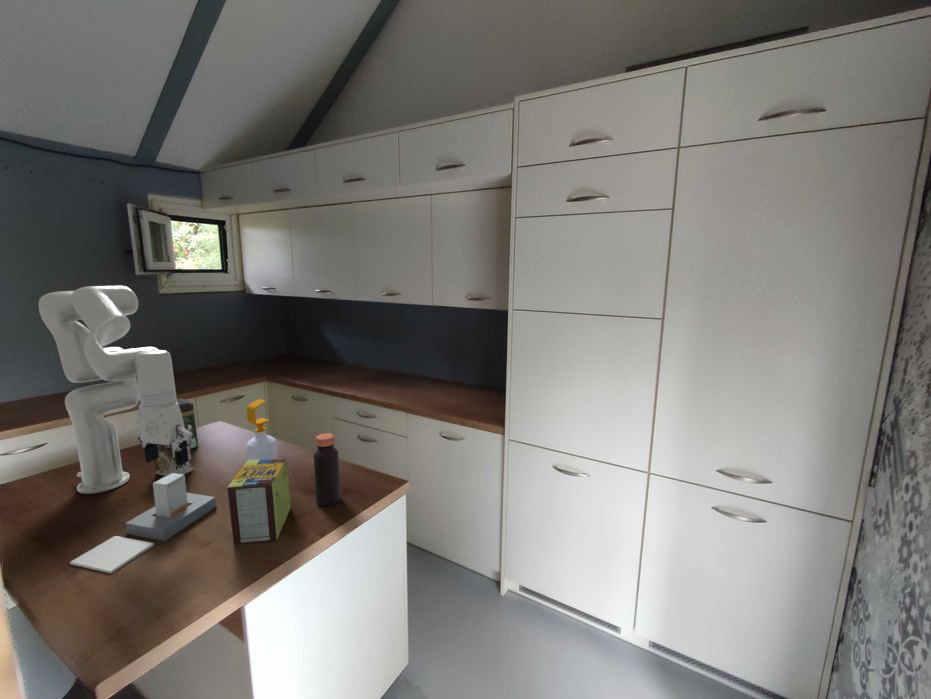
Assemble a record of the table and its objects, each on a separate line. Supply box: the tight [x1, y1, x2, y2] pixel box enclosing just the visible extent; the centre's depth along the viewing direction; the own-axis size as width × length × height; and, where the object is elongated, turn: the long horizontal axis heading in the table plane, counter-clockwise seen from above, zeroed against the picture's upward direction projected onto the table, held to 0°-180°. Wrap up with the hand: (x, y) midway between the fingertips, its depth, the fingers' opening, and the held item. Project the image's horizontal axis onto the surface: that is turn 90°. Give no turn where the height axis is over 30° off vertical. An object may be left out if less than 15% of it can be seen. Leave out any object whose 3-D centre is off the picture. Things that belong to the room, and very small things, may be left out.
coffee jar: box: [177, 398, 199, 450], centre depth 158 cm, size 10×8×19 cm
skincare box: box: [152, 473, 188, 519], centre depth 112 cm, size 6×4×12 cm
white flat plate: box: [69, 535, 155, 574], centre depth 99 cm, size 12×10×1 cm
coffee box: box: [154, 424, 194, 477], centre depth 139 cm, size 9×6×16 cm
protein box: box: [227, 457, 292, 545], centre depth 110 cm, size 10×15×16 cm
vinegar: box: [313, 432, 341, 507], centre depth 122 cm, size 7×7×20 cm
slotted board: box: [124, 492, 217, 542], centre depth 113 cm, size 12×16×3 cm
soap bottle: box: [246, 398, 279, 460], centre depth 139 cm, size 9×9×25 cm
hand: (167, 461), depth 110 cm, fingers open, 9 cm apart
